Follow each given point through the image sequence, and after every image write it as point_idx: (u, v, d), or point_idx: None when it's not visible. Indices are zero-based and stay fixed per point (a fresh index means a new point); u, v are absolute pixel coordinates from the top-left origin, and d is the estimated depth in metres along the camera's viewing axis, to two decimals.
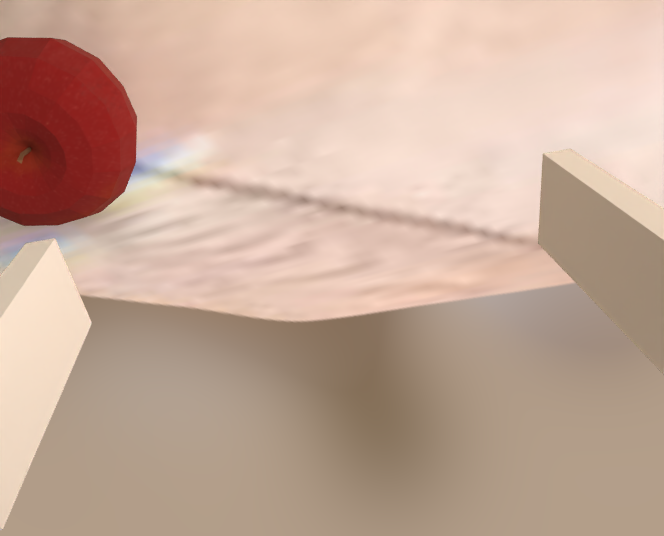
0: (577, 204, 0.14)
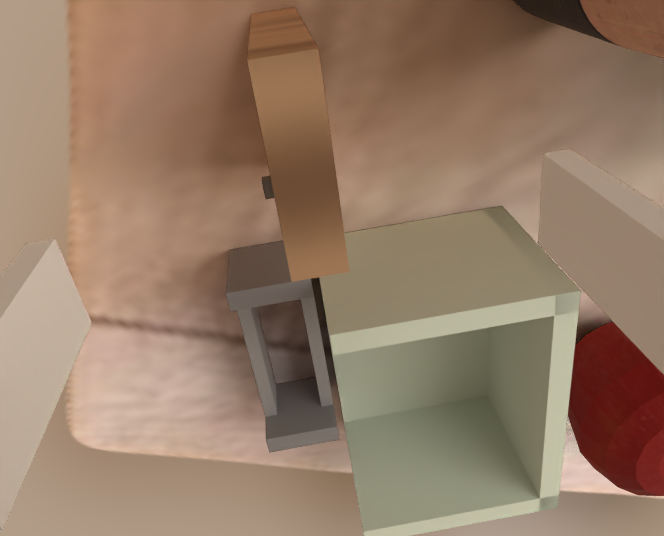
0: (577, 204, 0.14)
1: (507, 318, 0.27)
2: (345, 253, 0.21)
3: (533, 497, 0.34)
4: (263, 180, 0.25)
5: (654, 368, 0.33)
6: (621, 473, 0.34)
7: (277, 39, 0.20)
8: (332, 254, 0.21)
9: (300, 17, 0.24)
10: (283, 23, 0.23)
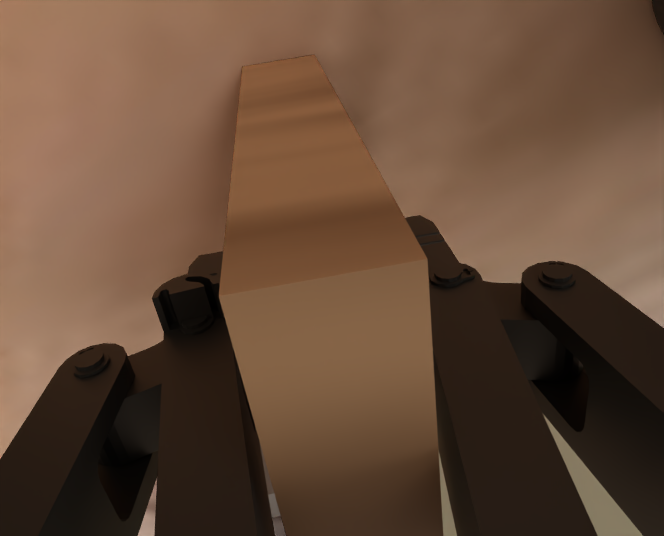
0: None
1: None
2: None
3: None
4: None
5: None
6: None
7: (297, 172, 0.09)
8: None
9: (332, 87, 0.13)
10: (302, 104, 0.12)
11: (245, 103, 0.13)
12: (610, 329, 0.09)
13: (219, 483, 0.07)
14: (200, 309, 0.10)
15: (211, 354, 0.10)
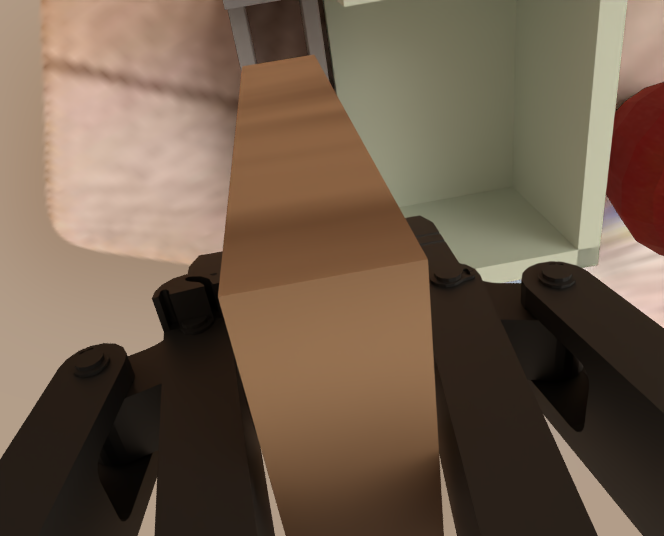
0: None
1: None
2: None
3: (570, 249, 0.30)
4: None
5: None
6: None
7: (296, 172, 0.09)
8: None
9: (331, 86, 0.13)
10: (301, 104, 0.12)
11: (245, 103, 0.13)
12: (610, 329, 0.09)
13: (219, 483, 0.07)
14: (200, 309, 0.10)
15: (211, 354, 0.10)
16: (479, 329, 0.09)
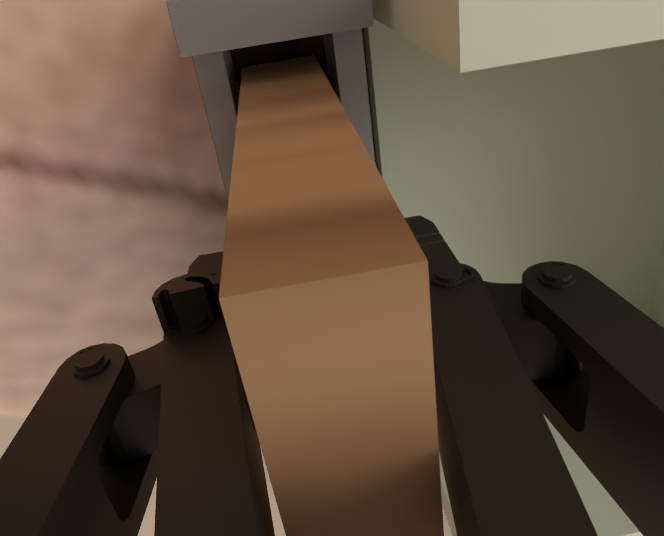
0: None
1: None
2: None
3: None
4: None
5: None
6: None
7: (297, 173, 0.09)
8: None
9: None
10: (302, 105, 0.12)
11: (245, 104, 0.13)
12: (610, 329, 0.09)
13: (218, 483, 0.07)
14: (200, 309, 0.10)
15: (211, 354, 0.10)
16: (479, 329, 0.09)
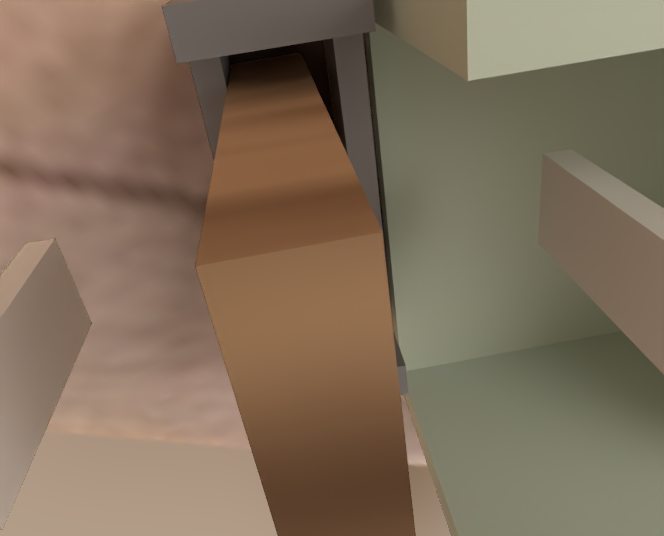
0: (577, 204, 0.14)
1: None
2: None
3: None
4: None
5: None
6: None
7: (274, 160, 0.09)
8: None
9: None
10: (284, 98, 0.13)
11: (231, 98, 0.14)
12: None
13: None
14: None
15: None
16: None
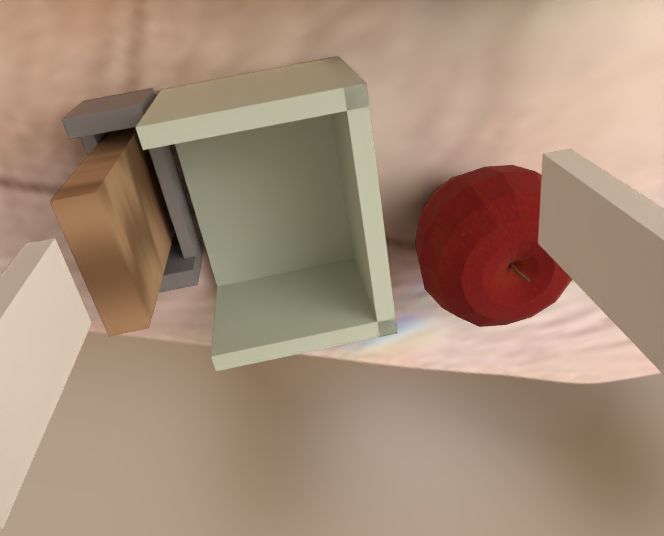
0: (577, 204, 0.14)
1: (302, 112, 0.30)
2: (143, 316, 0.31)
3: (371, 321, 0.36)
4: None
5: (474, 190, 0.35)
6: (453, 295, 0.36)
7: (87, 175, 0.30)
8: (134, 317, 0.30)
9: (127, 143, 0.34)
10: (110, 151, 0.33)
11: (93, 151, 0.34)
12: None
13: None
14: None
15: None
16: None
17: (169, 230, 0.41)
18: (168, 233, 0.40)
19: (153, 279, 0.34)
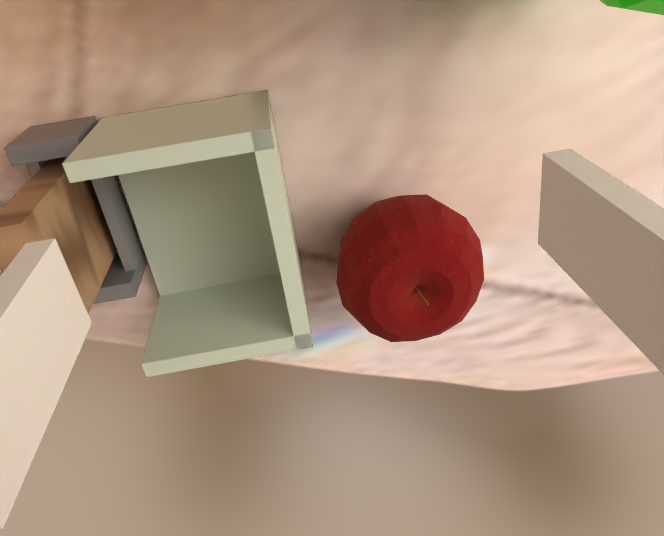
0: (577, 204, 0.14)
1: (213, 152, 0.33)
2: None
3: (289, 336, 0.40)
4: None
5: (382, 220, 0.39)
6: (363, 314, 0.40)
7: (21, 204, 0.33)
8: None
9: None
10: (49, 178, 0.37)
11: (34, 176, 0.38)
12: None
13: None
14: None
15: None
16: None
17: (112, 245, 0.44)
18: (110, 248, 0.44)
19: (86, 294, 0.37)
